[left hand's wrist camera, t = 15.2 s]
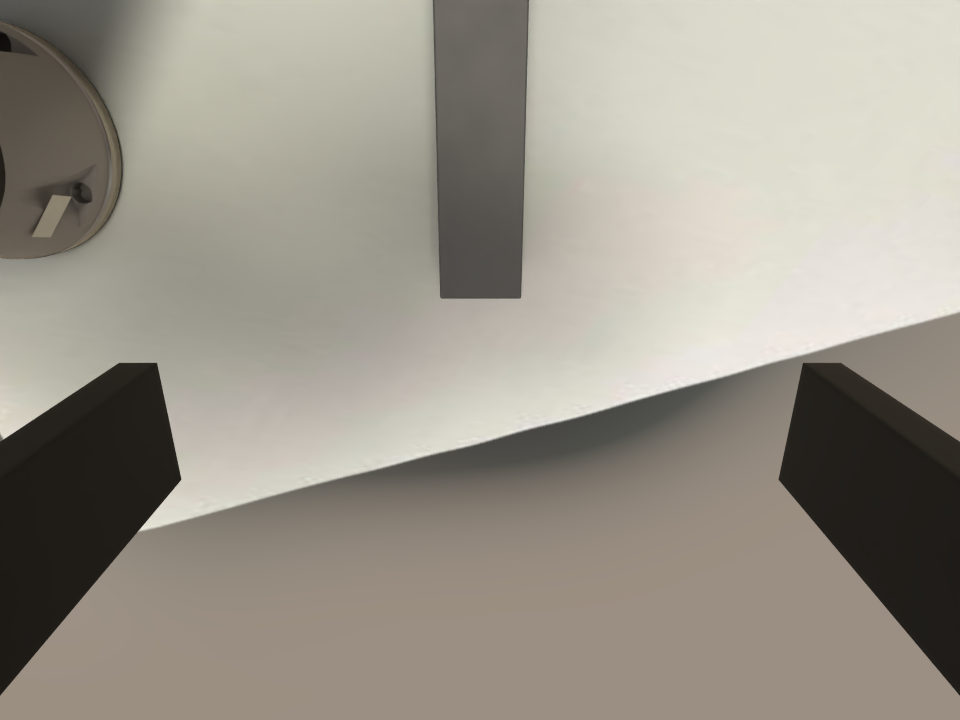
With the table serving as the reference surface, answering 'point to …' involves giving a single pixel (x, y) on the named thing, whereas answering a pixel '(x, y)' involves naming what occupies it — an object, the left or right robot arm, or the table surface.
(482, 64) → the beam
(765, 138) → the table surface
